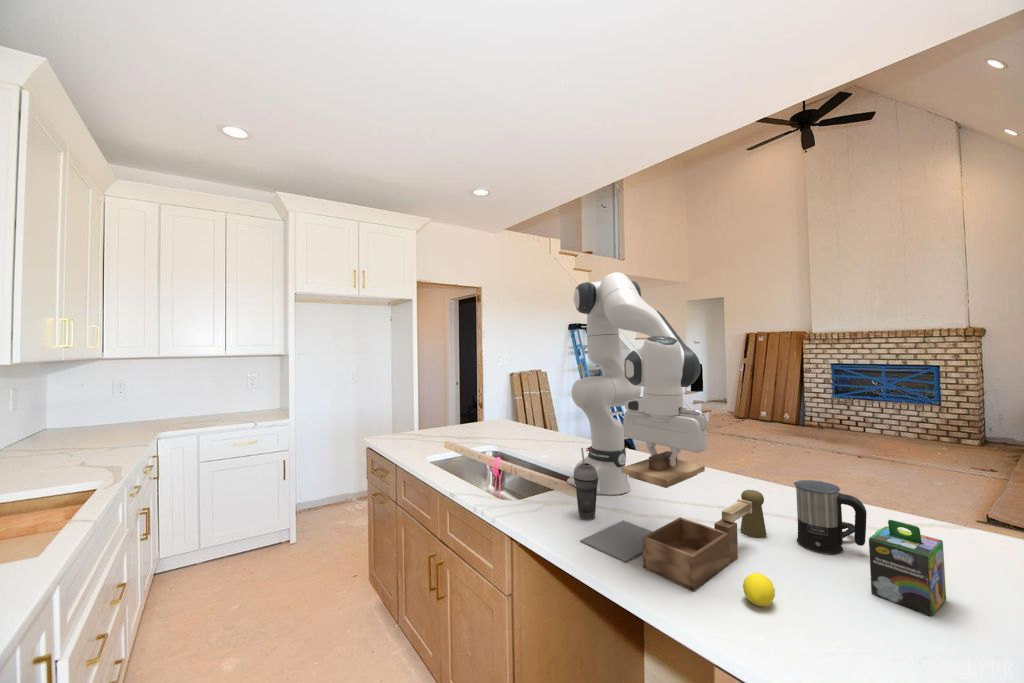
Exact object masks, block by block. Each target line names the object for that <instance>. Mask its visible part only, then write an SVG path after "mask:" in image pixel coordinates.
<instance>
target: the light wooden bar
mask: <svg viewBox="0 0 1024 683" xmlns="http://www.w3.org/2000/svg"><path fill="white" fill-rule="evenodd" d="M747 513H750V514H751V513H752V502H750V501H746V500H742V498H738V499H737V500H736V502H735V503H733V504H732V505H730V506H728V507H726V508H725V509H722V510H721V519H722V520H725V521H728V522H732V523H733V522H736V521H737V520H739V519H742V516H744V515H745V514H747Z"/></svg>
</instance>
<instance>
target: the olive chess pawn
mask: <svg viewBox="0 0 1024 683" xmlns="http://www.w3.org/2000/svg"><path fill="white" fill-rule="evenodd" d="M740 499H742V500H746V501H750V502H752V513H751V514H750V513H747V514H745V515H744V516H742V517H741V523H740V529H739V531H741V532H740V533H741V534H742V535H743V534H744V536H745V535H746V536H745V537H748V538H752V539H757V538H761V539H765V538H767V536H768V534H767V530H766V523H765V519H764V518H765V517H764V510H763V505H764V502H765V498H764V495H763V493H761V492H760V491H758V490H754V489H746V490H743V491H742V492H741V494H740ZM766 535H767V536H766Z"/></svg>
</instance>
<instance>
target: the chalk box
mask: <svg viewBox="0 0 1024 683" xmlns="http://www.w3.org/2000/svg"><path fill="white" fill-rule="evenodd" d="M887 524H888V526H884V527H882V528H880V529H878V530H876V531H875V532H874V534H873V535H871V536H869V538H868V550H869V551H868V552H869V571H870V573H869V574H870V589H871V591H870V592H871V595H875V596H877V597H881V599H882V598H883V599H885V600H888V601H890V602H893V603H896V604H898V605H901V606H903V607H906V608H908V609H910V610H913V611H915V612H918V613H920V614H924V615H925V616H928V617H932V616H934V614H935V613H937V611H938V609H940V608H941V606H942V605H943V604H944V602H946V600H947V589H946V572H945V570H946V569H945V556H944V555H945V554H944V553H945V552H944V541H943V540H942V539H939V538H936V537H935V538H934V537H931V536H928V535H927V536H926V535H922V534H921V529H920V527H918V526H917V525H913V524H911V523H910V524H909V523H905V522H901V521H898V520H894V519H888V520H887ZM898 528H903V529H898ZM904 529H907V530H904Z"/></svg>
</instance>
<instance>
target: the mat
mask: <svg viewBox="0 0 1024 683" xmlns="http://www.w3.org/2000/svg"><path fill="white" fill-rule="evenodd" d="M653 531H654V530H650V529H648V528H645V527H643V526H639V525H637V524H635V523H631V522H629V521H626V520H621V521H619V522H616V523H614V524H613V525H610V526H608V527H605V528H604V529H601V530H599V531H597V532H595V533H592V534H589V535H588V536H586V537H584V538H582V539H579V542H580V543H581V544H584V545H586V546H589V547H590V548H592V549H594V550H597V551H599V552H601V553H603V554H605V555H607V556H610V557H612V558H613V559H615V560H616V559H617V560H618V561H620V562H623V563H625V564H627V563H628V562H630V561H632V560H633V559H635V558H637V557H638V556H640V555H643V543H642V537H644V536H646V535H647V534H649V533H651V532H653Z"/></svg>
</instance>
